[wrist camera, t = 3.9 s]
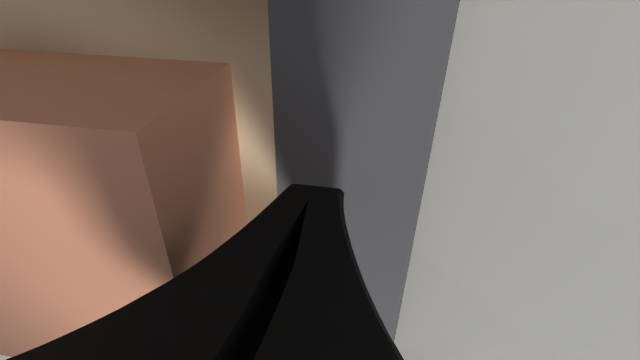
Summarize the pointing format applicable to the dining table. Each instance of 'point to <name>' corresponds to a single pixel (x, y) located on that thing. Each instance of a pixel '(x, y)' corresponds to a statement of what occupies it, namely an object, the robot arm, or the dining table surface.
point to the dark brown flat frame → (170, 56)
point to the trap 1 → (362, 118)
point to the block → (108, 183)
